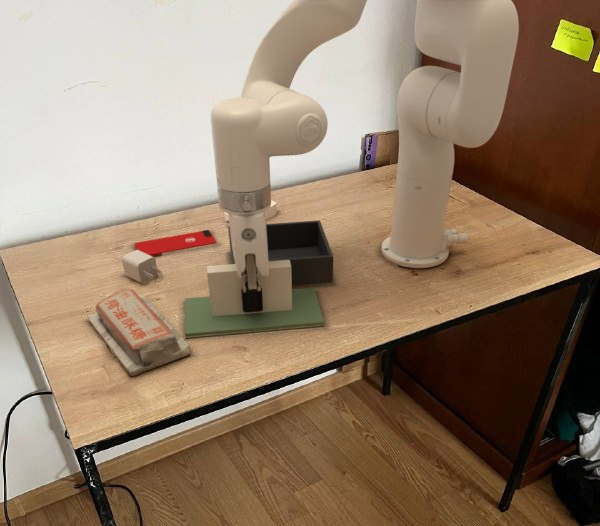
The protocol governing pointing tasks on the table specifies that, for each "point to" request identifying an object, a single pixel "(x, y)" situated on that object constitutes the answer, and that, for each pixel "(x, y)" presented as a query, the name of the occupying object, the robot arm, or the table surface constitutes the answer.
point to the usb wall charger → (140, 266)
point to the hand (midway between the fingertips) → (252, 303)
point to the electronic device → (175, 243)
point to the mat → (252, 317)
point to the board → (229, 286)
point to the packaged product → (137, 332)
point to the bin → (300, 250)
